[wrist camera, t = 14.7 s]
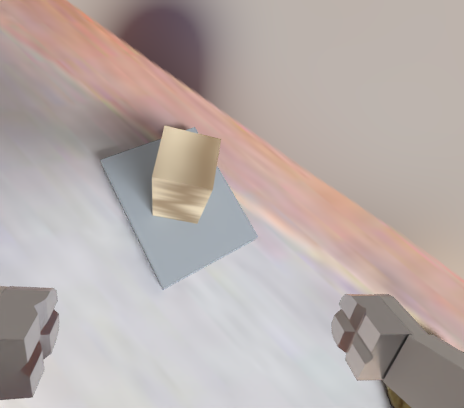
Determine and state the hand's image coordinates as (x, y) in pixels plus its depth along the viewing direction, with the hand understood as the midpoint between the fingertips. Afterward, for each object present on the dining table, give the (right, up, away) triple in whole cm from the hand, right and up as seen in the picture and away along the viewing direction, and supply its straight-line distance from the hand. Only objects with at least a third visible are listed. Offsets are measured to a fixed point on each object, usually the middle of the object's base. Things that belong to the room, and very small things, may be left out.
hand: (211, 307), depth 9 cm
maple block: (-5, +4, +26) cm, 27 cm away
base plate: (-6, +3, +29) cm, 29 cm away
